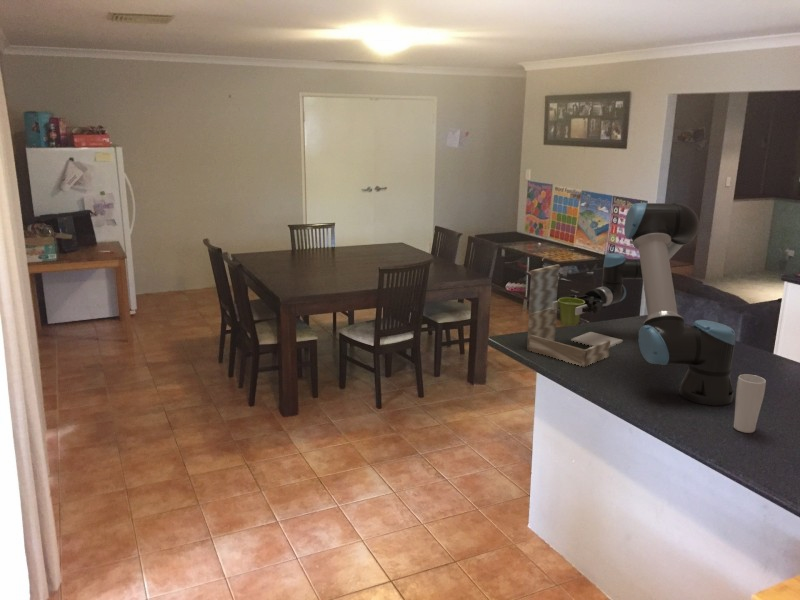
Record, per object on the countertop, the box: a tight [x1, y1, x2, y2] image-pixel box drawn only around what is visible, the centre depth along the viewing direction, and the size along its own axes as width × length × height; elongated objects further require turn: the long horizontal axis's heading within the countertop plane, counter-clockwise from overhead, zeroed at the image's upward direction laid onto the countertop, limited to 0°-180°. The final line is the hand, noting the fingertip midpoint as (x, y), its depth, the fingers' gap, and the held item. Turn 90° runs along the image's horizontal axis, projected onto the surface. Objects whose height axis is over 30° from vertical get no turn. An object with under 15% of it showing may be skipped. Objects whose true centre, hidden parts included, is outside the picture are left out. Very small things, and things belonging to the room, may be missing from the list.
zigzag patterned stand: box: [526, 264, 611, 368], centre depth 236 cm, size 16×24×30 cm
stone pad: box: [570, 331, 624, 348], centre depth 253 cm, size 14×14×1 cm
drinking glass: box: [733, 373, 767, 434], centre depth 179 cm, size 7×7×15 cm
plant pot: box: [558, 297, 585, 327], centre depth 236 cm, size 9×9×9 cm
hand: (564, 308), depth 232 cm, fingers closed on plant pot, 9 cm apart
